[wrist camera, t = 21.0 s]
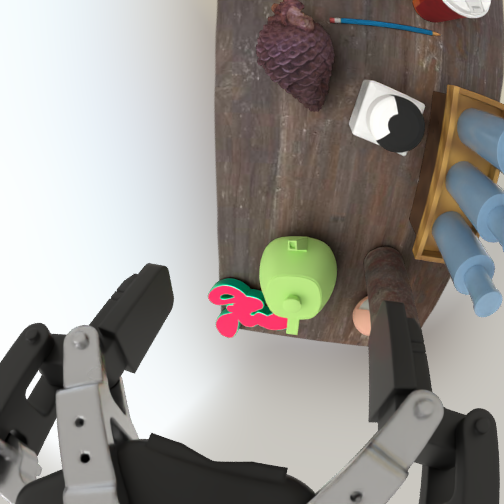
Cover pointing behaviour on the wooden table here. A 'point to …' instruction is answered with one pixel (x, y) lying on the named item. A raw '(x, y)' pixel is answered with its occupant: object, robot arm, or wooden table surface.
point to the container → (387, 118)
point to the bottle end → (467, 262)
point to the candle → (387, 281)
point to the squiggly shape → (242, 308)
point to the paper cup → (450, 9)
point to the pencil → (383, 25)
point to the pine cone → (296, 53)
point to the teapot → (297, 278)
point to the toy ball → (362, 316)
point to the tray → (445, 165)
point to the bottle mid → (478, 200)
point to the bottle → (483, 135)
